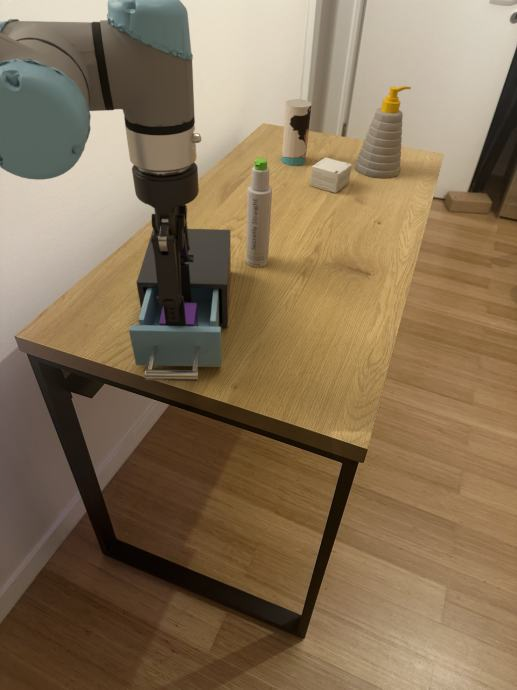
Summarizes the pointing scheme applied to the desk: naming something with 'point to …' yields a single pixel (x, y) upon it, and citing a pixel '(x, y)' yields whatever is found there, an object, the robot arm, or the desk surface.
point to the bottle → (258, 215)
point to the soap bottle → (383, 140)
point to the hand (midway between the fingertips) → (180, 316)
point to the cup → (296, 131)
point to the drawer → (178, 338)
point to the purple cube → (190, 315)
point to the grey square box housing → (198, 266)
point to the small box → (330, 175)
